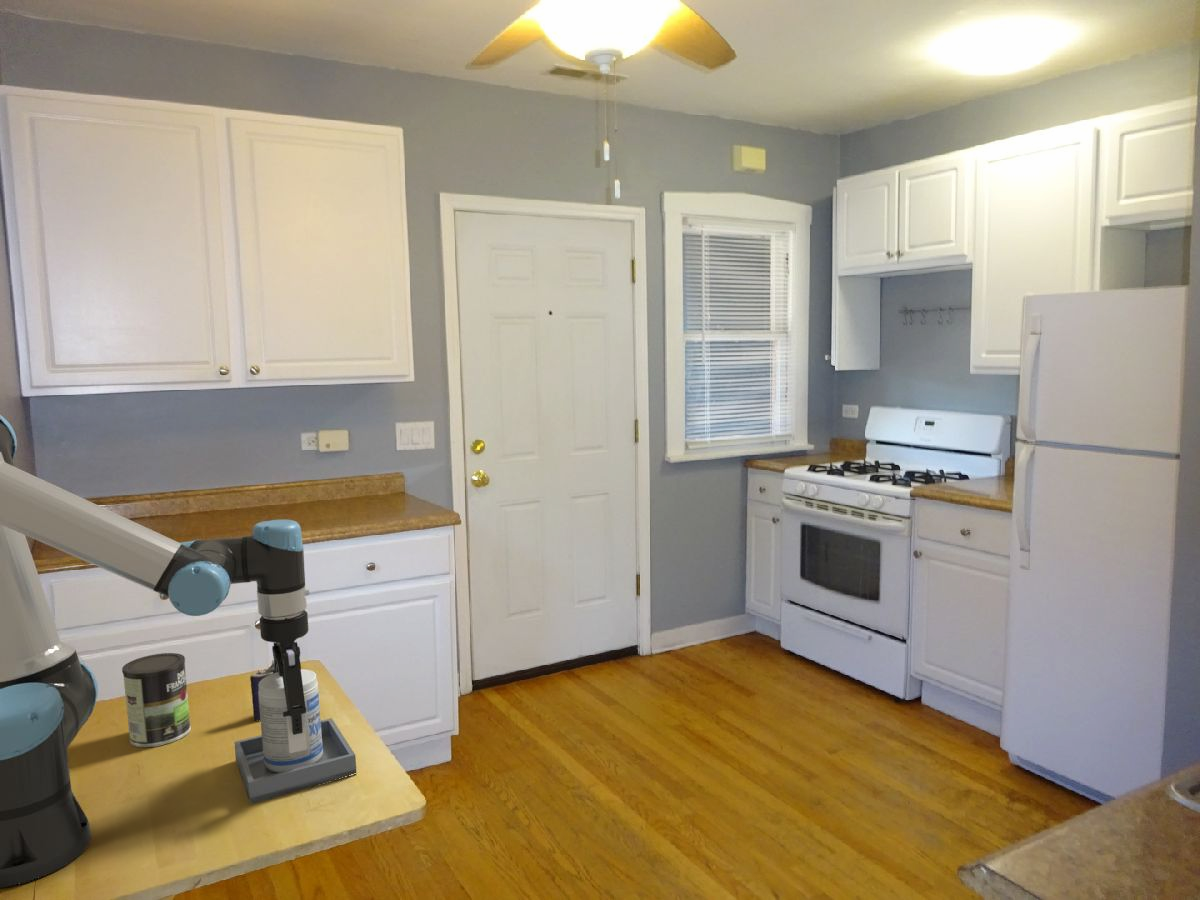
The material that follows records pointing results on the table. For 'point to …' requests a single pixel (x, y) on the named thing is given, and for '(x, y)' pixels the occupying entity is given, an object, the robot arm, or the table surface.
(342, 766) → the tray
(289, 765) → the supplement tub
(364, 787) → the table surface
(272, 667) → the flask
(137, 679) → the coffee can
